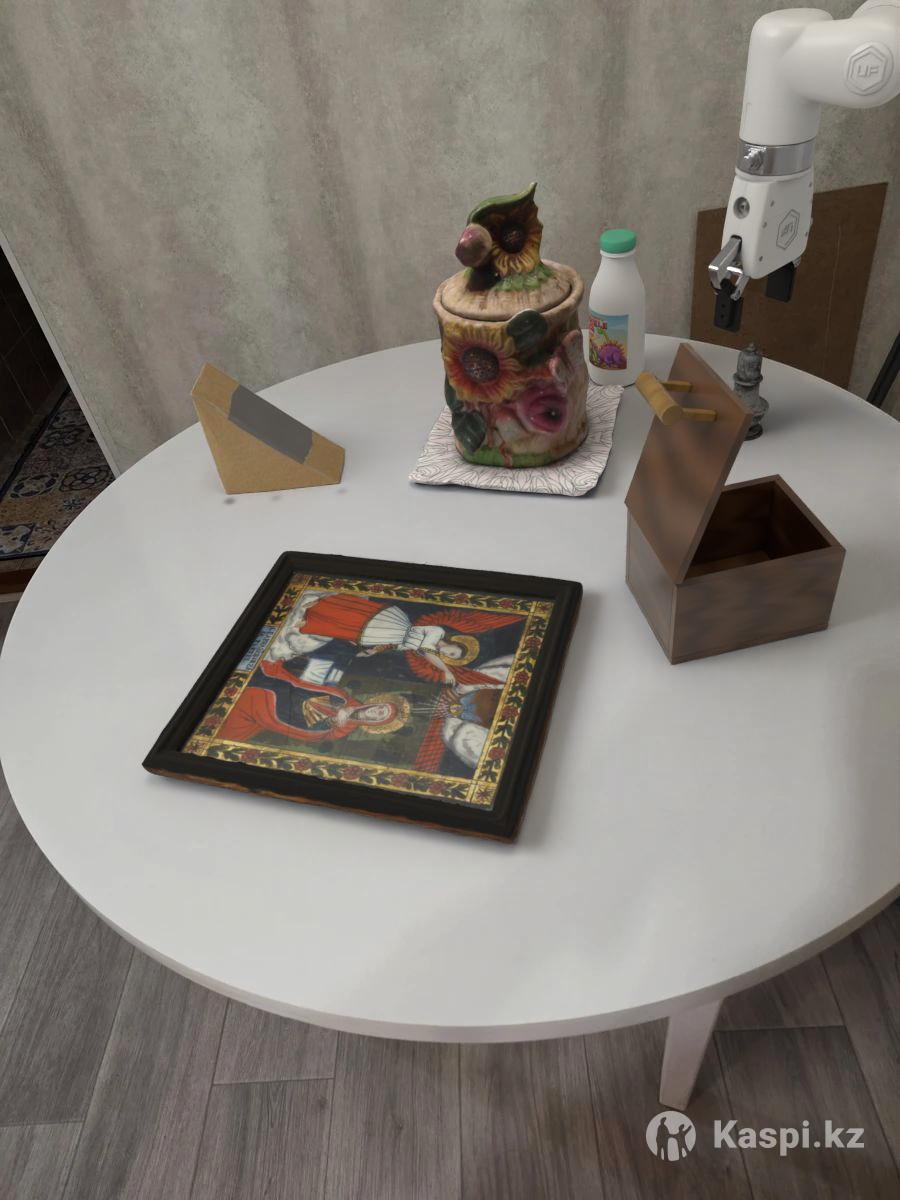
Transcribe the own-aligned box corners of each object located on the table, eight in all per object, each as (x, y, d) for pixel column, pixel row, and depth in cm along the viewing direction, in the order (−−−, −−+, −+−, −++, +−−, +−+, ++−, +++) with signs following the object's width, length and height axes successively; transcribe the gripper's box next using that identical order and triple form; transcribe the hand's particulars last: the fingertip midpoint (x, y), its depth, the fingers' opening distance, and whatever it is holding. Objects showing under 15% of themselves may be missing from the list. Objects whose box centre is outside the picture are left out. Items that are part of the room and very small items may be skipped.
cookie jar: (455, 391, 126) (426, 155, 105) (625, 397, 120) (631, 146, 98) (404, 490, 109) (356, 232, 88) (599, 503, 103) (599, 228, 81)
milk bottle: (619, 357, 128) (622, 218, 115) (654, 375, 123) (661, 233, 110) (578, 374, 126) (575, 235, 113) (611, 394, 121) (613, 250, 107)
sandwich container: (340, 484, 112) (314, 379, 102) (225, 495, 113) (188, 393, 103) (346, 448, 118) (322, 346, 108) (237, 459, 120) (204, 359, 110)
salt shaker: (736, 447, 108) (747, 358, 100) (707, 426, 112) (716, 340, 104) (775, 432, 109) (789, 344, 101) (745, 412, 113) (756, 326, 105)
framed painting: (585, 570, 94) (585, 549, 92) (560, 858, 69) (559, 838, 67) (259, 562, 102) (252, 544, 100) (130, 819, 77) (117, 800, 75)
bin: (766, 549, 93) (778, 473, 87) (827, 629, 84) (846, 550, 77) (625, 581, 92) (627, 506, 85) (671, 665, 83) (677, 588, 76)
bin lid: (688, 342, 75) (629, 337, 74) (755, 414, 65) (689, 409, 64) (630, 502, 85) (578, 500, 84) (681, 584, 76) (623, 583, 74)
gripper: (754, 185, 83) (733, 350, 95) (855, 137, 90) (824, 296, 102) (691, 172, 88) (678, 331, 99) (792, 127, 95) (769, 280, 106)
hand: (752, 313), depth 100 cm, fingers open, 9 cm apart
